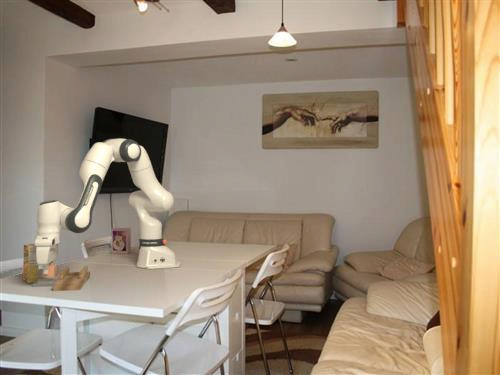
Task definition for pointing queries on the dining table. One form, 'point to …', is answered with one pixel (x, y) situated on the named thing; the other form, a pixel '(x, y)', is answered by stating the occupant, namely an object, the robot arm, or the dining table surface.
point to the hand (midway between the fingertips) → (48, 272)
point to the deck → (71, 279)
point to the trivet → (45, 282)
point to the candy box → (30, 263)
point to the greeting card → (121, 240)
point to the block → (51, 271)
